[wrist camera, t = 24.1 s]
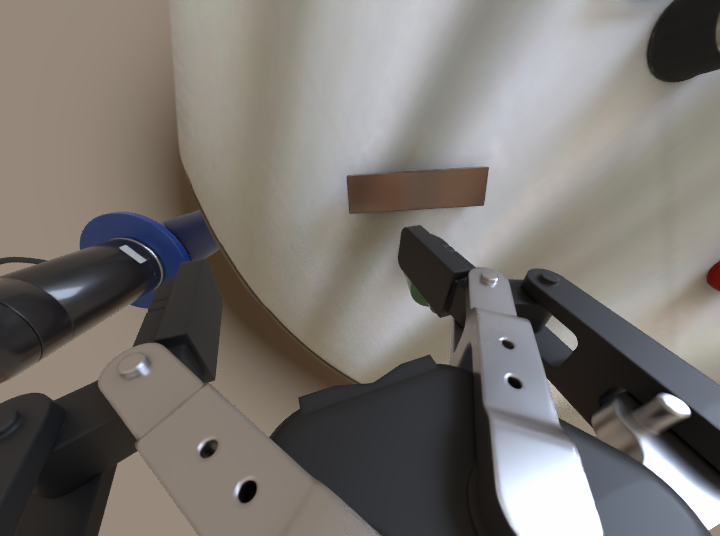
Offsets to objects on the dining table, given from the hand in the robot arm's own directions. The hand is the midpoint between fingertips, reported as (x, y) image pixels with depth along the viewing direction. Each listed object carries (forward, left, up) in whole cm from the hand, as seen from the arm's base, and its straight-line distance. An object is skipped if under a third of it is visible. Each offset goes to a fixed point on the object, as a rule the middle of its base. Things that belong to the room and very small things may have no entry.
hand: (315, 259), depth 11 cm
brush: (+10, -1, -28) cm, 30 cm away
